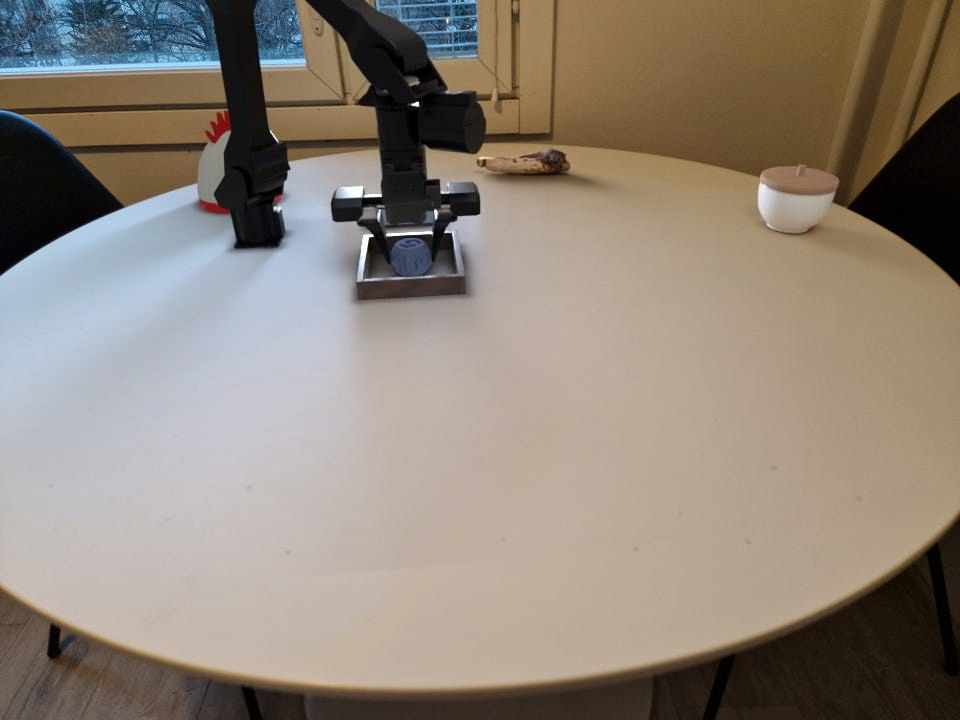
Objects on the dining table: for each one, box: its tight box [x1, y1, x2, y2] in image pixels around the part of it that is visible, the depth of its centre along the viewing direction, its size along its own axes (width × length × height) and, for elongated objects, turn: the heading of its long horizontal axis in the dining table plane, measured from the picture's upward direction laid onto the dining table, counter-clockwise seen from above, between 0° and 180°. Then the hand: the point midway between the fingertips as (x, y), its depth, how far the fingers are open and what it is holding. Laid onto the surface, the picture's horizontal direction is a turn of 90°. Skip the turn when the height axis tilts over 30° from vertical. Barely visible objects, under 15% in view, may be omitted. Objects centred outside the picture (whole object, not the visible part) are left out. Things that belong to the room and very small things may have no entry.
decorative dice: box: [390, 238, 432, 277], centre depth 87 cm, size 4×4×4 cm
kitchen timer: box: [196, 109, 283, 214], centre depth 111 cm, size 14×14×15 cm
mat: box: [382, 209, 433, 228], centre depth 108 cm, size 12×12×1 cm
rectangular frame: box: [355, 230, 467, 301], centre depth 88 cm, size 14×16×2 cm
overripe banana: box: [476, 148, 571, 175], centre depth 126 cm, size 9×5×18 cm
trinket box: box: [757, 163, 840, 234], centre depth 98 cm, size 11×11×9 cm
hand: (411, 262), depth 88 cm, fingers open, 6 cm apart
